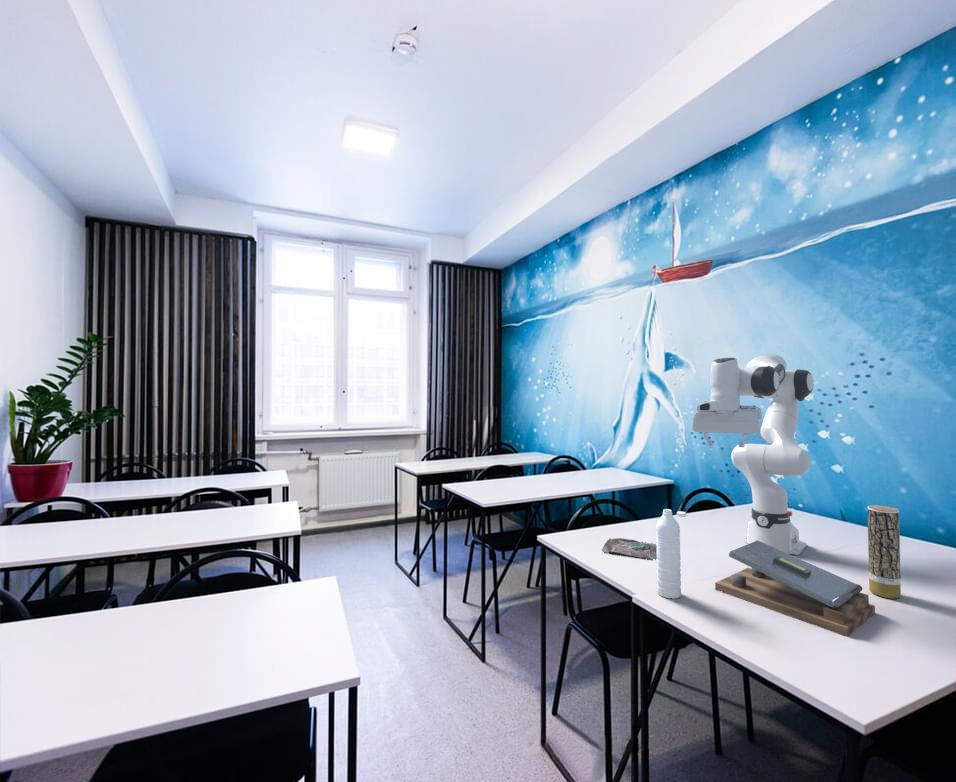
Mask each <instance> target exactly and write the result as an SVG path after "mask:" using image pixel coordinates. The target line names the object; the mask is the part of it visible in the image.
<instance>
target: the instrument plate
mask: <svg viewBox="0 0 956 782" xmlns="http://www.w3.org/2000/svg"><path fill="white" fill-rule="evenodd" d="M728 557H730V558H732V559H733V560H736V561H737V562H739V563H742V564H744V565H746V566H747V567H749V568H751V569H752V568H754V569H756V570H758V571H760V572H762V573H764V574H766V575H768V576H770V577H772V578H774V579H776V580H778V581H780V582H782V583H784V584H786V585H788V586H790V587H792V588H794V589H796V590H798V591H800V592H802V593H804V594H806V595H808V596H810V597H812V598H814V599H816V600H818V601H820V602H822V603H824V604H826V605H828V606H830V607H832V608H833V609H837V608H839V607H840V606H841V605H843V604H844V603H845V602H847V601H848V600H850V599H851V598H852V597H854V596H855V595H857V594H858V593H859V592H860V593H862V591H863V587H862V586H861V585H860V584H857V583H855V582H852V581H851V580H848V579H847V578H844V577H841V576H839V575H836V574H834V573H832V572H830V571H828V570H825V569H823V568H822V567H821V568H820V567H818V566H816V565H814V564H812V563H810V562H808V561H804V560H803V559H800V558H798V557H796V556H793V554H787V553H785V552H783V551H780V550H778V549H776V548H774V547H771V546H769V545H767V544H764V543H762V542H760V541H758V540H757V541H755V542H752V543H750V544H748V543H746V545H742V546H739V547H738V548H736V549H733V550H730V551H729V553H728Z"/></svg>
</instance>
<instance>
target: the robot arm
mask: <svg viewBox="0 0 956 782" xmlns="http://www.w3.org/2000/svg"><path fill="white" fill-rule="evenodd" d="M787 365H788V364H787V361H786V360H785V359H784V357H782V356H781V355H778V354H772V353H769V354H768V353H767V354H762V355H759V356H756V357H754V358H752V359H751V360H750V361H748V362H747V364H746V366H745V367H739V363H738V359H737V358H736V357H722V358H716V359H714V360H713V361H712V362H711V366H710V372H709V385H710V389H711V391H710V394H709V399H710V400H709V401H704V402H702V403H698V404H696V406H695V409H696V412H695V413H694V414H693V418H692V424H691V426H692V427H691V430H692V431H693V432H694V433H703V437H704V439H705V441H706V442H707V443H706V445H707V447H712V446H713V440H710V439H709V435H710V433H713V434H714V433H716V434H717V433H718V434H742V437H743V439H742V441H738V444H737V445H736V446H735V447H734V448H733V449H732V450H731V455H730V457H731V458H730V459H731V463H732V464H733V466H734V467H735V468H736V469H737V470H739V471H740V472H741V473H742V474H743V476H744V477H745V478H746V479H747V481H748V483H749V485H750V488H751V489H750V490H751V495H752V496H751V497H752V508H751V518H752V519H751V520H749V521H748V524H747V525H748V526H747V537H746V538H744V541H743V542H744V543H746V544H750V543H752V542H755V541H757V540H758V541H760V542H762V543H764V544H767V545H769V546H771V547H774V548H776V549H778V550H780V551H783V552H785V553H787V554H789V555H796V556H799V555H800V554H801V553H802V552H803V551H804V549H805V548H806V547H807V542H805V541H802V540H800V535H799V534H800V532H799V529H798V528H797V527H796V526H795V525H794V524H793V523H792V522H791V517H792V516H793V511H792V510H788V493H787V491H786V489H785V488H784V487H782V486H781V485H780V484H778V483H776V482H775V481H774V480H773V479H771V477H770V475H777V476H786V477H797V476H804V475H806V474H807V473H808V472H809V470H810V468H811V465H812V461H811V457H810V455H809V453H808V452H807V451H806V450H805V449H803V448H802V447H800V446H799V445H798V444H797V442H796V440H795V433H796V430H797V429H796V428H797V424H798V422H799V404H798V401H799V402H802V401H804V400H805V399H806V398H807V397H809V396H810V394H811V393H812V392H813V390H814V385H815V383H814V382H815V380H814V377H813V375H812V373H811V372H810V371H809V370H806V369H794V370H793V369H787V367H788V366H787ZM741 396H743V397H744V396H746V397H747V396H751V397H752V396H753V397H755V398H757V399H765V398H766V399H773V400H772V401H771V402H770V404H769V405H768V408H767V409H766V411H765V413H764V414H765V415H764V416H763V420H762V423H761V422H760V420H761V418H762V409H761V408H760V407H759V406H756V405H741ZM751 434H752V435H758V434H760V435H761V437H762V439H763V440H764V441H766V442H767V443H768V444H763V443H745V442H746V441H747V440H748V438H749V435H751Z"/></svg>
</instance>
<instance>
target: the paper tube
mask: <svg viewBox="0 0 956 782" xmlns="http://www.w3.org/2000/svg"><path fill="white" fill-rule="evenodd" d="M899 510H900V509H898V508H897V507H896V508H895V507H892V506H885V505H876V504H875V505H867V537H868V539H867V541H868V542H867V544H868V545H867V548H868V582H869V584H868V586H869V587H868V589H869V591H870V592H871V593H872V594H873V595H876V596H878V597H881V598H884V599H891V600H893V599H894V600H895V599H899V598H900V597H901V596H902V595H901V594H902V593H901V592H902V591H901V584H902V583H901V582H902V581H901V580H902V579H901V538H900V537H901V536H900V511H899Z"/></svg>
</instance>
